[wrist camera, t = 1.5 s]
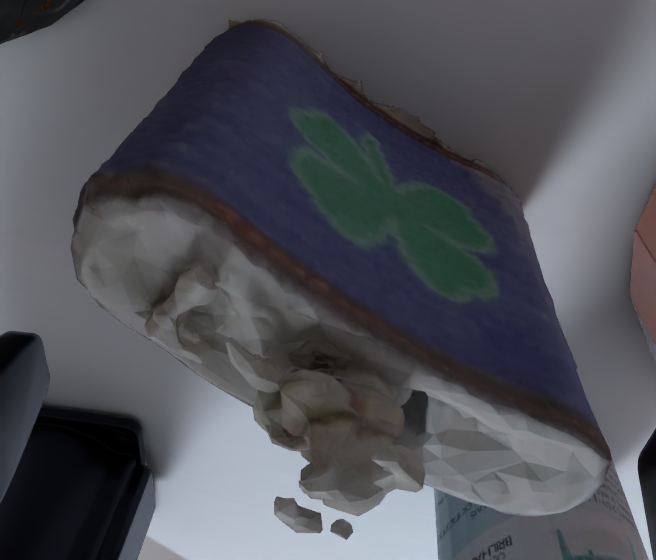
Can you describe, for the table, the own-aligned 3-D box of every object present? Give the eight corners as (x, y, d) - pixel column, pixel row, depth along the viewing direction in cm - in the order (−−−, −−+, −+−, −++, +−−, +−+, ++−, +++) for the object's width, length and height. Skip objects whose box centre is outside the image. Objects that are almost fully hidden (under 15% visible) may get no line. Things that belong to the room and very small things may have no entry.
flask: (539, 198, 17) (698, 593, 8) (466, 270, 18) (533, 667, 10) (240, -13, 14) (3, 225, 6) (185, 91, 16) (-68, 404, 7)
